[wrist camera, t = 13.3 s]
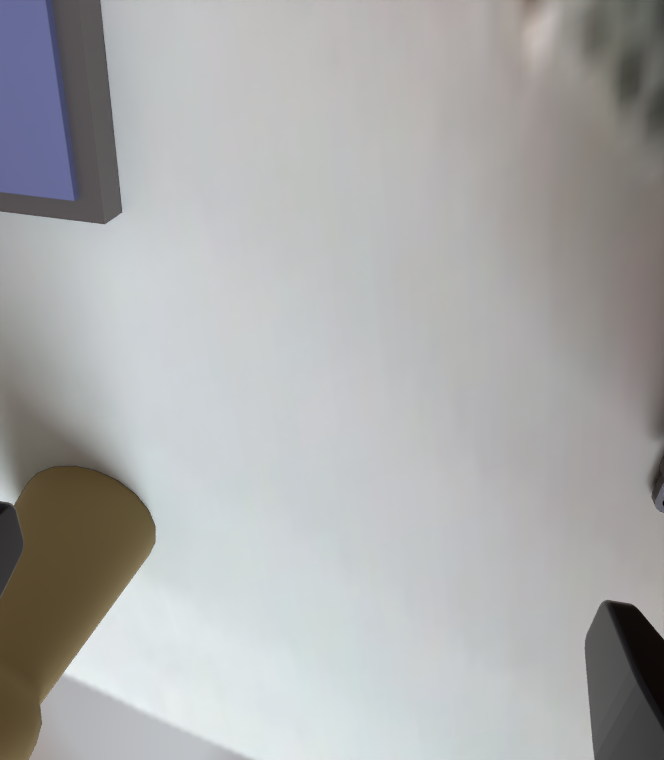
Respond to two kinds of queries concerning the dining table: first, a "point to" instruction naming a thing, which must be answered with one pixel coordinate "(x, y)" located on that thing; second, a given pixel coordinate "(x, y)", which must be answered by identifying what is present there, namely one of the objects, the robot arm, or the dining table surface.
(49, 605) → the cork
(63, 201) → the ink pad
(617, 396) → the dining table surface
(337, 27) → the dining table surface
